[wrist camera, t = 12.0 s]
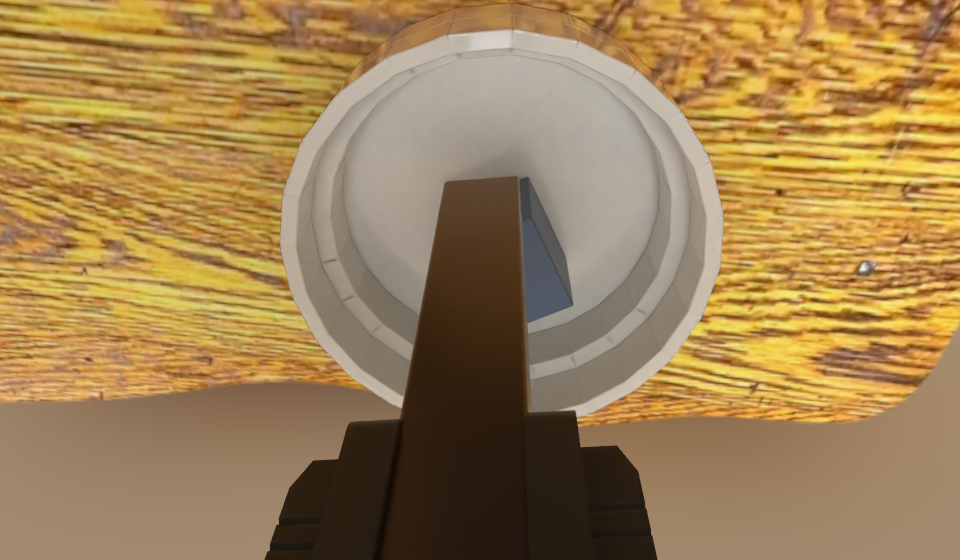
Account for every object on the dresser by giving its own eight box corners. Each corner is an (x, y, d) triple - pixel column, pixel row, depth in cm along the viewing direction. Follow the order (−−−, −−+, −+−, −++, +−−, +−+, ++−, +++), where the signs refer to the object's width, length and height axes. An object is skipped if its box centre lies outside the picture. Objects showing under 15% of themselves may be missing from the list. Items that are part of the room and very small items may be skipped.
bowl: (349, 361, 36) (324, 439, 31) (279, 21, 28) (233, 53, 24) (682, 341, 35) (711, 419, 30) (696, -17, 27) (738, 9, 23)
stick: (452, 247, 19) (359, 920, 7) (443, 180, 18) (322, 812, 6) (523, 242, 19) (556, 918, 7) (518, 174, 18) (547, 807, 6)
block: (479, 292, 33) (477, 343, 29) (437, 214, 31) (429, 258, 28) (566, 257, 32) (574, 306, 29) (528, 175, 30) (531, 216, 27)
